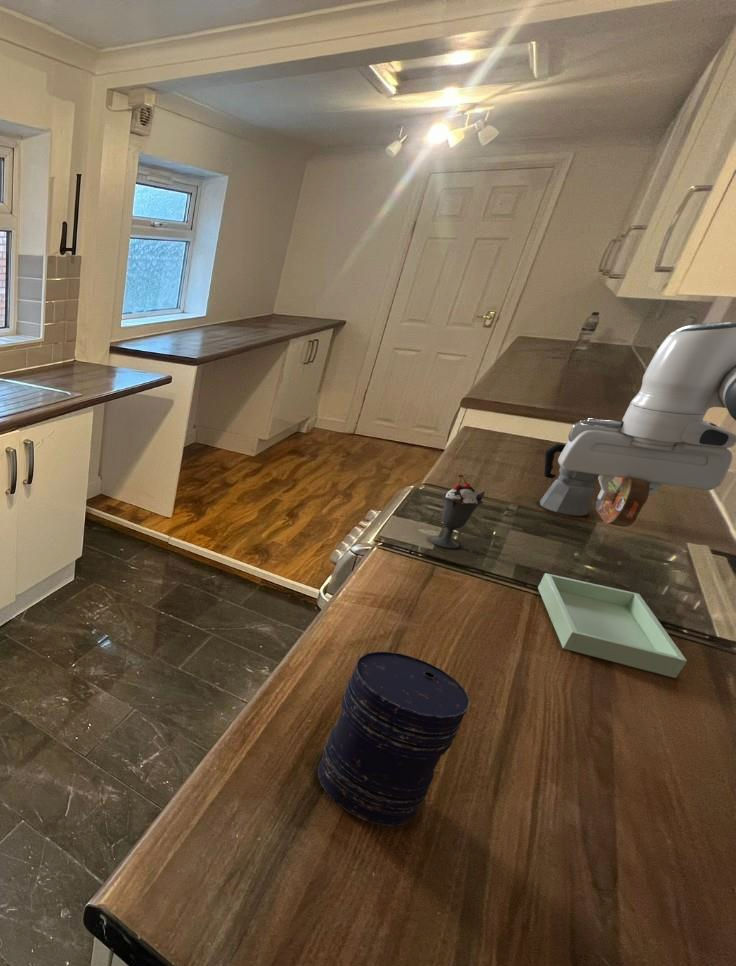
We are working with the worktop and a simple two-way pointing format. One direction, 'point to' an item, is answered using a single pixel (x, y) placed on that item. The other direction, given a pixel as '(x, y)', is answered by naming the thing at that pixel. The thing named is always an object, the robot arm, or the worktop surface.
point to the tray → (609, 625)
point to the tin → (623, 501)
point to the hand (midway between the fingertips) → (618, 502)
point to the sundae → (457, 511)
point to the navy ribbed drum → (390, 736)
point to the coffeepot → (568, 488)
